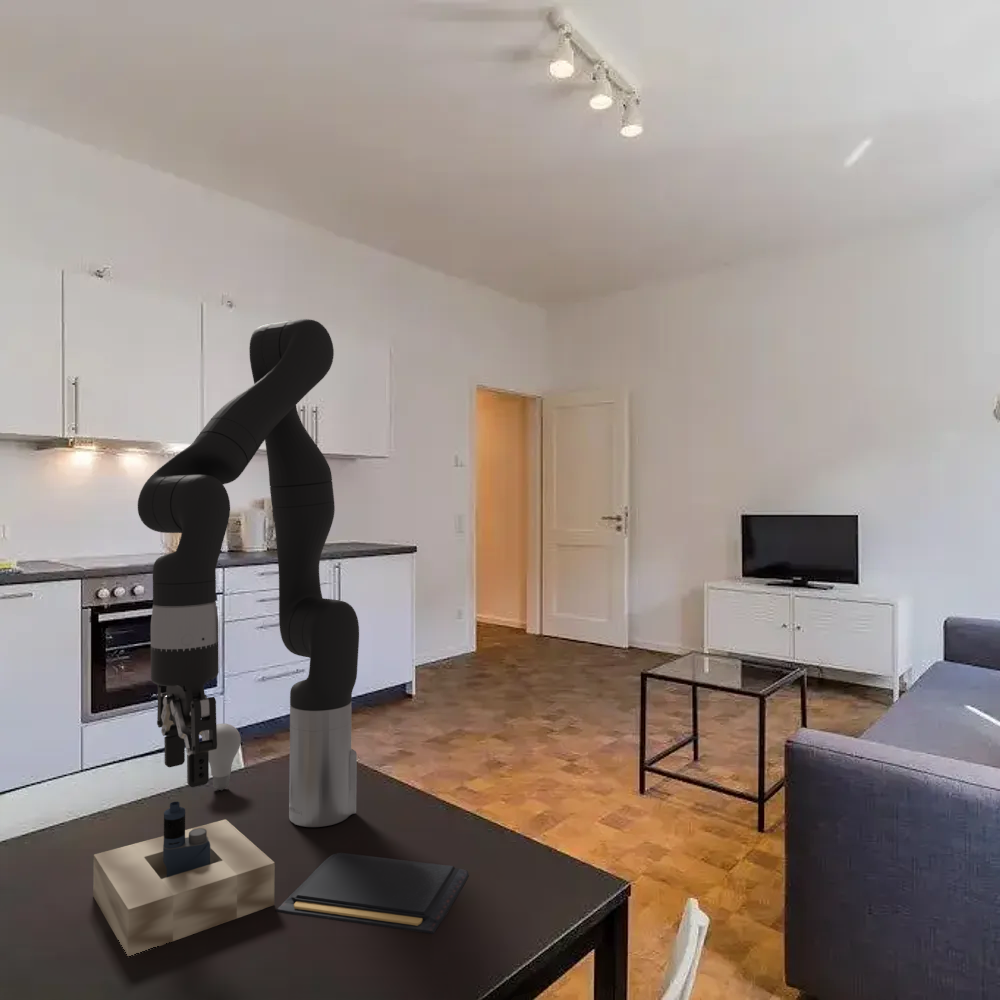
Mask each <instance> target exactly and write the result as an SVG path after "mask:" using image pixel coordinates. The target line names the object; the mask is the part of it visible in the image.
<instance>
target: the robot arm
mask: <svg viewBox="0 0 1000 1000" xmlns="http://www.w3.org/2000/svg"><path fill="white" fill-rule="evenodd" d="M248 349H249V362H250V369H251V374H252V379H253V384H252V385H251V386H250V387H248V388H246V389H245V390H244V391H242V392H241V393H239V394H238V395H236V396H234V397H233V398H232V399H231V400H229V401H227V403H225V404H224V405H223V406H222V407H221V408H220V409H219V410H218V411H217V412H216V413H215V414H214V415H212V417H211V418H210V419H209V421H208V422H207V423H206V425H205V426H204V427H203V429H202V430H201V431H200V432H199V434H198V435H197V436H196V438H195V439H194V441H192V443H190V445H188V447H186V448H184V449H183V450H181V451H179V453H177V454H176V455H174V456H173V457H172V458H171V459H169V460H168V461H167V462H165V464H163V465H162V466H161V467H159V468H158V469H157V470H156V471H154V473H153V474H151V476H150V477H149V478H148V479H147V480H146V482H145V483H144V484H143V486H142V488H141V490H140V492H139V496H138V500H137V513H138V518H140V520H141V522H142V523H143V524H144V525H145V526H146V528H149V529H150V530H152V531H154V532H159V533H163V534H181V535H180V539H179V543H178V545H177V548H176V550H175V551H174V552H171V553H168V554H167V553H166V554H164V555H161V556H159V557H158V558H156V559H155V561H154V563H153V567H152V612H151V619H150V680H151V682H152V683H153V684H155V685H157V720H156V725H157V727H158V728H161V731H160V732H161V734H162V736H163V739H164V740H163V741H164V764H165V766H166V767H168V768H173V767H178V766H182V765H183V764H184V763H185V762H186V764H187V765H186V780H187V781H186V782H187V785H188V786H189V787H191V788H195V787H200V786H204V785H206V784H207V783H208V782H209V778H210V776H209V775H210V771H209V770H210V769H209V767H210V763H209V752H208V751H211V750H215V749H217V726H216V725H217V700H216V698H215V696H211V697H208V696H207V695H206V694H205V693H206V692H205V688H204V686H205V684H206V683H207V682H208V681H213V680H214V679H216V678H217V677H218V675H219V673H220V671H219V667H220V665H219V663H220V661H219V659H220V658H219V656H220V655H219V616H218V609H217V575H216V574H217V573H216V570H217V566H218V561H219V557H220V554H221V550H222V547H223V543H224V538H225V536H226V532H227V529H228V526H229V525H228V524H229V520H230V515H231V514H230V513H231V503H230V497H229V493H228V491H227V489H226V487H225V486H224V485H226V484H229V483H232V482H235V481H236V480H237V479H238V478H239V477H240V476H241V475H242V474H243V472H244V471H245V469H246V468H247V466H248V465H249V463H250V462H251V461H252V459H253V458H254V457H255V455H256V453H257V452H258V450H259V449H260V447H261V446H262V444H263V443H264V442H265V443H264V444H265V450H266V460H267V466H268V478H269V479H268V480H269V491H270V492H269V493H270V500H271V502H270V503H271V508H272V510H271V511H272V515H273V516H272V517H273V521H274V530H275V543H276V554H277V565H278V623H279V632H280V633H279V634H280V636H281V637H280V638H281V641H282V643H283V644H284V646H285V647H286V649H287V650H288V651H289V652H290V653H292V654H293V655H295V656H299V657H304V658H309V668H308V676H307V677H306V679H303V680H300V681H297V682H296V683H294V684H293V685H292V686H291V688H290V692H289V693H290V694H289V781H288V782H289V788H288V790H289V792H288V793H289V794H288V795H289V796H288V797H289V798H288V799H289V800H288V808H289V809H288V811H289V812H288V818H289V821H290V822H291V823H292V824H294V825H295V826H296V825H297V826H300V827H306V828H320V827H321V828H322V827H327V826H328V827H329V826H332V825H336V824H339V823H342V822H344V821H345V820H347V819H348V818H349V817H350V816H351V815H354V814H356V813H357V767H358V766H357V763H358V762H357V755H358V754H357V751H356V750H355V749H352V703H353V702H352V698H353V695H352V694H353V689H354V687H355V684H356V682H357V679H358V678H357V677H358V665H359V664H358V661H359V660H358V659H359V649H360V648H359V647H360V646H359V645H360V625H359V624H360V623H359V620H358V615H357V613H356V611H355V609H354V606H352V605H351V604H350V603H348V602H346V601H343V600H339V599H332V598H325V597H324V598H323V594H322V588H321V581H320V580H321V579H320V561H321V556H322V555H321V554H322V552H323V549H324V547H325V544H326V542H327V539H328V536H329V535H330V534H329V533H330V531H331V527H332V525H333V521H334V517H335V511H336V510H335V506H336V505H335V496H334V488H333V487H334V485H333V484H334V483H333V477H332V476H333V475H332V470H331V467H330V465H329V463H328V461H327V459H326V458H325V455H324V454H323V452H322V451H321V449H320V448H319V446H318V445H317V444H316V443H315V441H314V440H313V438H312V437H311V435H310V434H309V432H308V431H307V429H306V428H305V425H303V422H302V420H301V418H300V415H299V412H298V409H297V405H298V403H299V402H300V401H301V400H303V398H304V397H305V396H306V395H307V394H308V393H309V392H310V391H311V390H312V389H314V388H315V387H316V386H317V385H318V384H319V383H320V382H321V381H322V380H323V379H324V378H325V377H326V375H328V372H329V371H330V370H331V367H332V364H333V361H334V355H335V353H334V352H335V351H334V343H333V340H332V337H331V335H330V333H329V331H328V330H327V328H326V327H325V326H324V325H323V324H321V322H320V321H317V320H315V319H309V318H301V319H292V320H285V321H280V322H279V321H277V322H273V323H268V324H267V323H266V324H262V325H260V326H258V327H256V328H255V329H254V331H253V332H252V333H251V337H250V340H249V348H248ZM208 731H209V732H208ZM164 736H165V737H164ZM200 736H201V741H200ZM185 748H186V749H185ZM186 753H187V754H186Z"/></svg>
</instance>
